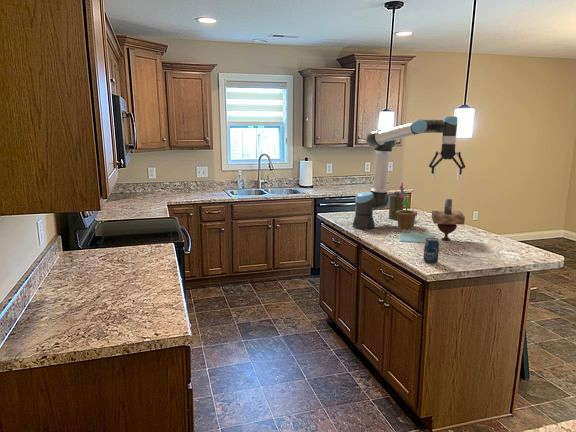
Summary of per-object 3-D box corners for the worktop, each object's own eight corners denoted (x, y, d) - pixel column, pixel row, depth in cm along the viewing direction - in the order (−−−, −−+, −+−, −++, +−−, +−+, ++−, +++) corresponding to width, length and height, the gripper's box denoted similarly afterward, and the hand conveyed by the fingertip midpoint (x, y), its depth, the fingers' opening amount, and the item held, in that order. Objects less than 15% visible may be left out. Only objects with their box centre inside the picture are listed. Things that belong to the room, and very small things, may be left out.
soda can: (424, 263, 215) (425, 240, 212) (422, 259, 221) (424, 237, 219) (438, 264, 213) (440, 241, 211) (436, 260, 220) (438, 237, 218)
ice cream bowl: (452, 237, 265) (454, 213, 262) (457, 242, 254) (459, 217, 251) (434, 237, 266) (436, 213, 263) (439, 242, 255) (440, 217, 252)
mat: (399, 241, 257) (399, 240, 257) (399, 233, 276) (399, 232, 276) (435, 243, 252) (435, 242, 252) (432, 235, 271) (432, 234, 271)
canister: (391, 216, 329) (392, 190, 325) (404, 218, 323) (406, 191, 319) (385, 218, 320) (387, 192, 316) (399, 220, 314) (400, 193, 310)
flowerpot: (397, 223, 304) (399, 181, 298) (418, 225, 298) (420, 182, 292) (392, 227, 292) (395, 183, 286) (414, 229, 286) (417, 184, 280)
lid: (433, 223, 252) (435, 201, 249) (431, 218, 268) (432, 197, 265) (464, 224, 248) (465, 202, 245) (460, 219, 264) (461, 197, 261)
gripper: (426, 143, 251) (424, 179, 256) (472, 144, 245) (469, 181, 250) (426, 142, 258) (423, 178, 263) (470, 143, 252) (467, 179, 257)
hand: (445, 179), depth 256 cm, fingers open, 13 cm apart
